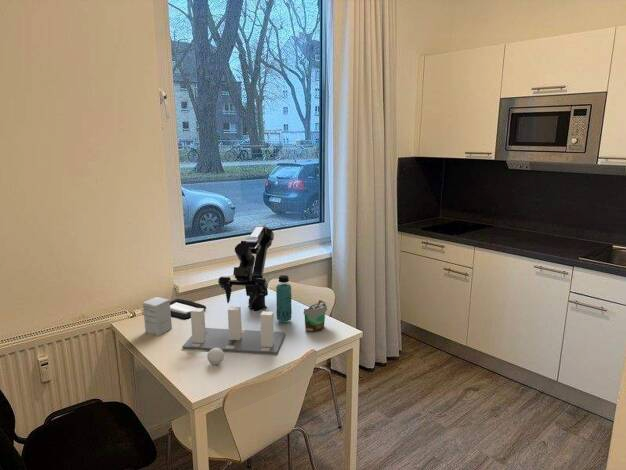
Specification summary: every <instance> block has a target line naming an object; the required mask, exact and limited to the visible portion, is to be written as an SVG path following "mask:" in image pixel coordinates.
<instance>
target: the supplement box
mask: <svg viewBox="0 0 626 470" xmlns="http://www.w3.org/2000/svg"><path fill="white" fill-rule="evenodd" d="M170 302H171V300H170V299H168V298H164V297H159V296H155V297H153V298H150V299H148V300H146V301H144V302H142V309H143V310H142V311H143V321H144V329H145V330H144V331H145V333H148V334H151V335H154V336H161V335H162V334H163V335H164V333H166V332H168V331H170V330H172V329H173V325H172V324H173V323H172V317H171V312H170Z"/></svg>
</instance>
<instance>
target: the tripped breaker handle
mask: <svg viewBox="0 0 626 470" xmlns="http://www.w3.org/2000/svg"><path fill="white" fill-rule="evenodd" d="M227 321H228V324H227V325H228V329H229V340H240V339H241V337H242V330H243V327H242V308H241V306H229V308H228V309H227Z"/></svg>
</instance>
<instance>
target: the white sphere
mask: <svg viewBox="0 0 626 470" xmlns="http://www.w3.org/2000/svg"><path fill="white" fill-rule="evenodd" d="M206 357H207V360H208V361H207V362H208V363H210V364H211V365H214V366H215V365H220V364H221V363H222V362H223V361H224V358H225V353H224V352H223V351H222V350H221V349H220V348H212V349H211V350H210V351H208V352H207V355H206ZM203 358H204V356H203V357H201V359H203Z"/></svg>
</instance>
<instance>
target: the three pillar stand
mask: <svg viewBox="0 0 626 470" xmlns="http://www.w3.org/2000/svg"><path fill="white" fill-rule="evenodd" d="M205 317H206V316H205V310H204V308H193V309H192V310H191V318H190V322H191V336H190V337H189V338H188V339H187V341H186V342H185V343H184V344H183V345H182V350H190V351H191V350H193V351H205V352H206V351H208V352H209V351H210V350H211V349H212V348H220V349H221V350H222V351H223V352H225V353H238V354H241V353H242V354H253V355H254V354H256V355H259V354H260V355H269V356H270V355H271V356H273V355H274V356H277V355H278V353H279V352H280V351H279V350H280V349H281V346H282V344H283V341H284V339H285V337H286V331H285V332H284V331H275V329H274V311H261V313H260V315H259V317H260V318H259V320H260V330H250V329H249V330H248V329H242V337H241V339H240V340H229V328H217V327H213V328H212V327H206V318H205Z"/></svg>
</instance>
